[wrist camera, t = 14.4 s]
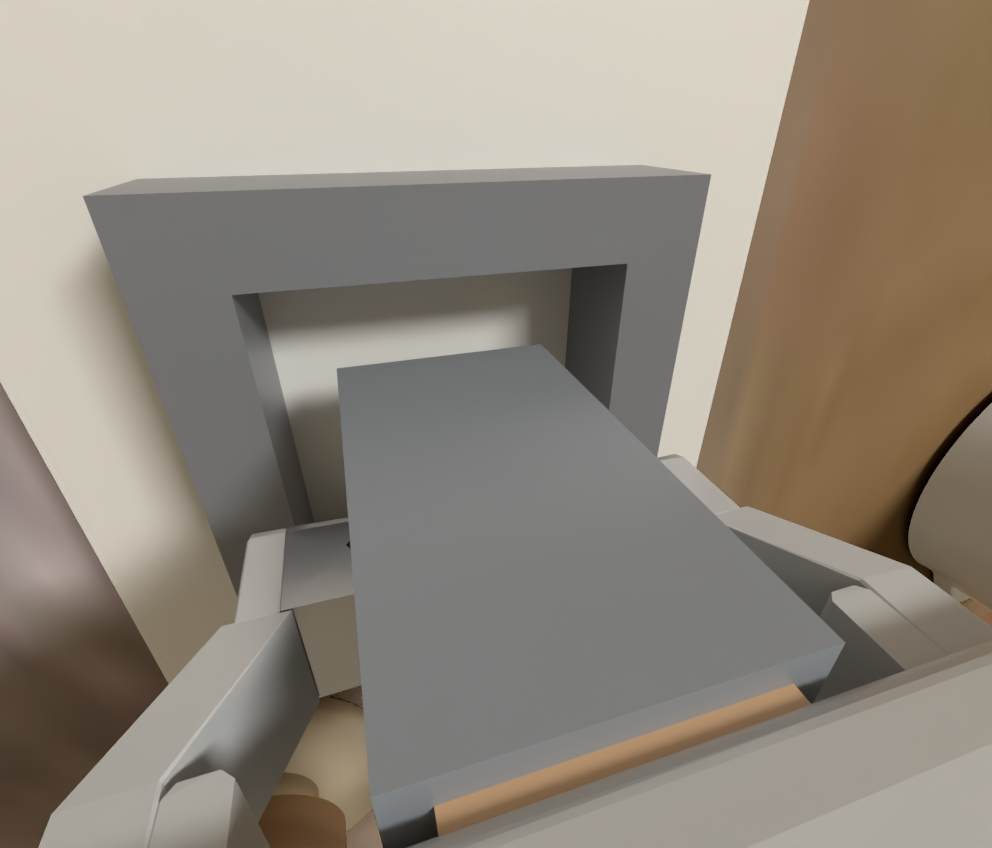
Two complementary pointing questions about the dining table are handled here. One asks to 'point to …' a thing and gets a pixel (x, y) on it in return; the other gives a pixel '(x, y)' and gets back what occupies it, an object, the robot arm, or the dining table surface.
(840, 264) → the dining table surface
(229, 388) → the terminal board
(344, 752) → the bobbin
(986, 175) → the dining table surface
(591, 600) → the grey and tan block
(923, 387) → the dining table surface
